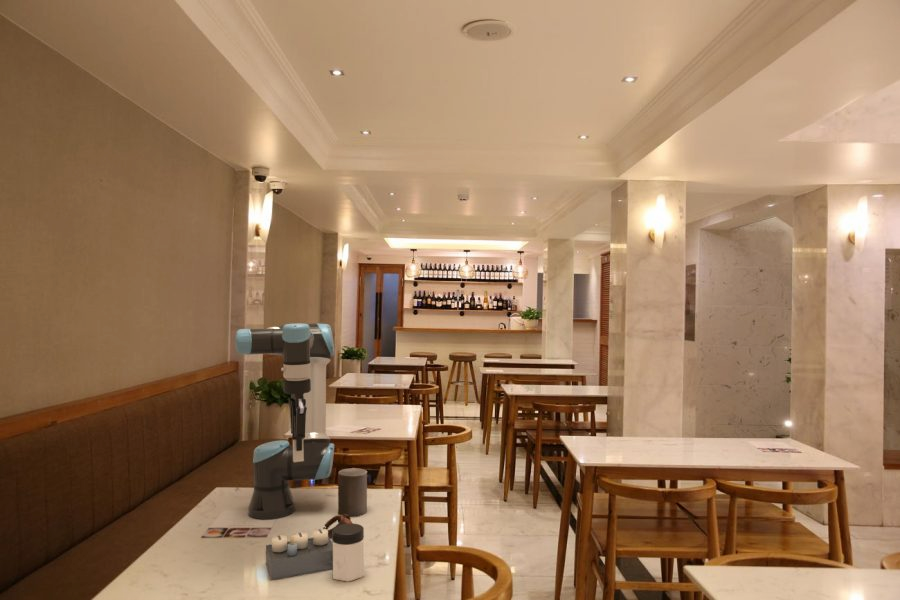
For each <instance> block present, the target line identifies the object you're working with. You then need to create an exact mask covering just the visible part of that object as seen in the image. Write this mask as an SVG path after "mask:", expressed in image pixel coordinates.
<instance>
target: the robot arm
mask: <svg viewBox="0 0 900 600" xmlns="http://www.w3.org/2000/svg"><path fill="white" fill-rule="evenodd" d="M331 327H332V326H331V325H330V324H328V323H287V324H281V325H277V326H276V325H275V326H269V327H267V328H241V329H238V330H237V331H236V333H235V340H234V342H235V344H234V345H235V350H236V353H237V354H238V355H246V356H249V355H271V356H272V355H274V356H280V357H282V363H283V367H281V369H280V371H281V372H283V373H282V374H283V375H282V376H283V378H284V379H283V385H282V386H283V393H284V394H287V395H290V398H289V399H288V404H289V405H288V406H289V415H290V416H289V417H290V418H289V419H290V434H291V436H292V437H291V440H292V445H291V444H290V442H289V441H288V440H285V439H284V440H283V439H280V440H272V441H270V442H265V443H262V444H260V445H258V446H257V447H255V448H254V450H253V456H252V457H253V460H252V465H253V469H252V471H253V492H252V495H251V498H250V502H249V505H248V516H249V515H250V517H251V518H253V519H257V518H258V519H259V520H273V518H274V519H279V518H284V517H286V516H288V515H291V514H292V513H294V511H296V509H295V508H296V503H295V499H294V498H293V494H292V491H291V489H290V481H307V480H308V481H309V480H310V481H311V480H316V481H317V480H322V479H323V480H324V479H327V478H329V477H330V476H331V474H332V468H333V465H334V464H333V462H334V456H335V455H334V454H335V444H334V443H333V442H332V443H331V438H330V436H328V435H327V433H326V432H327V431H326V430H327V426H326V425H327V423H326V422H327V418H326V417H327V365H328V364H329V363H330V362H331V357H333V356H335V342H334V337H333V331H332V328H331ZM258 519H257V520H258Z"/></svg>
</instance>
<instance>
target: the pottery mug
mask: <svg viewBox="0 0 900 600" xmlns="http://www.w3.org/2000/svg"><path fill="white" fill-rule="evenodd" d="M351 519H352V518H351V517H350V516H349V515H348V514H344V515H339V514H338V515H334V516H333V517H331V518H330V519H329V520H327V521H326V523H325V524H324V526H323V528H322V529H326V530H328V537H329V538H330V540H332V530H333V528H335V527H336V526H338V525H342V524H349V523H352V524H354V523H353V521H352V520H351ZM336 522H337V524H336V525H335V526H333V527H332V528H330V527H331V525H334V523H336ZM329 528H330V529H329Z"/></svg>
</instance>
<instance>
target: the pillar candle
mask: <svg viewBox="0 0 900 600" xmlns="http://www.w3.org/2000/svg"><path fill="white" fill-rule="evenodd" d="M337 475H338V477H337V501H338V502H337V507H338V508H337V509H338V510H337V513H338V515H344V514H348V515H349V516H350V518H354V517H355V516H356V517H360V515H361V516H363V514H364V515H365V514H366V513H367V512H368V509H367V508H368V471H367V470H366V469H364V468H359V467H358V468H356V467H352V468H343V469H341V470H339V471H338V474H337Z"/></svg>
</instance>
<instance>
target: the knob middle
mask: <svg viewBox="0 0 900 600" xmlns="http://www.w3.org/2000/svg"><path fill="white" fill-rule="evenodd" d="M308 535H309V533H307V532H305V531H303V532H302V531H300V532H296V533H294V534H292V537H294V543H297V549H303V548H306V547H307V546H308V538H309V536H308Z"/></svg>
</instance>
